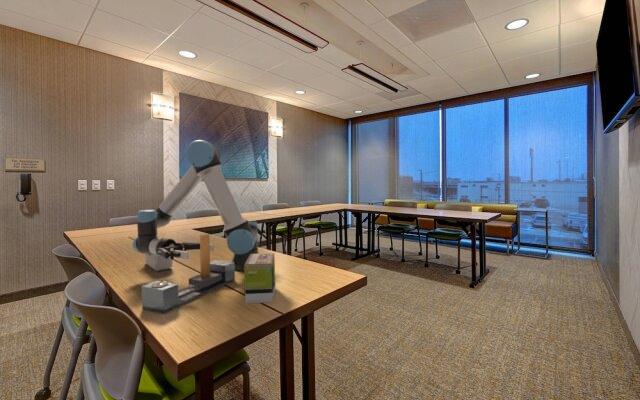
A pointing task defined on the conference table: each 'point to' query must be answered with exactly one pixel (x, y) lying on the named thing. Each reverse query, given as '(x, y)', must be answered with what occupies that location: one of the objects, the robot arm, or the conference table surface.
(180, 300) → the rail
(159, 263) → the stereo radio cassette player
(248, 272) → the tea box
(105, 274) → the conference table surface
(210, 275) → the carriage
